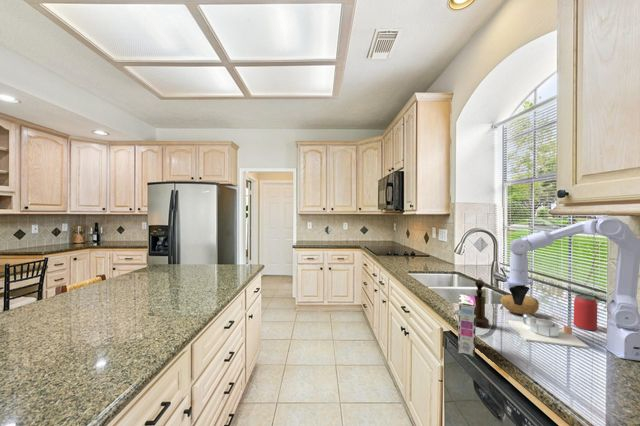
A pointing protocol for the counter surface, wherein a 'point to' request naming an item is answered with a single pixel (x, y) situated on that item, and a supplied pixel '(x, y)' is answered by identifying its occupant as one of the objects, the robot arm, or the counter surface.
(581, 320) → the beer can
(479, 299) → the pepper mill
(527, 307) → the potato
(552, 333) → the elbow collar
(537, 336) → the base
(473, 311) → the candy bar box
